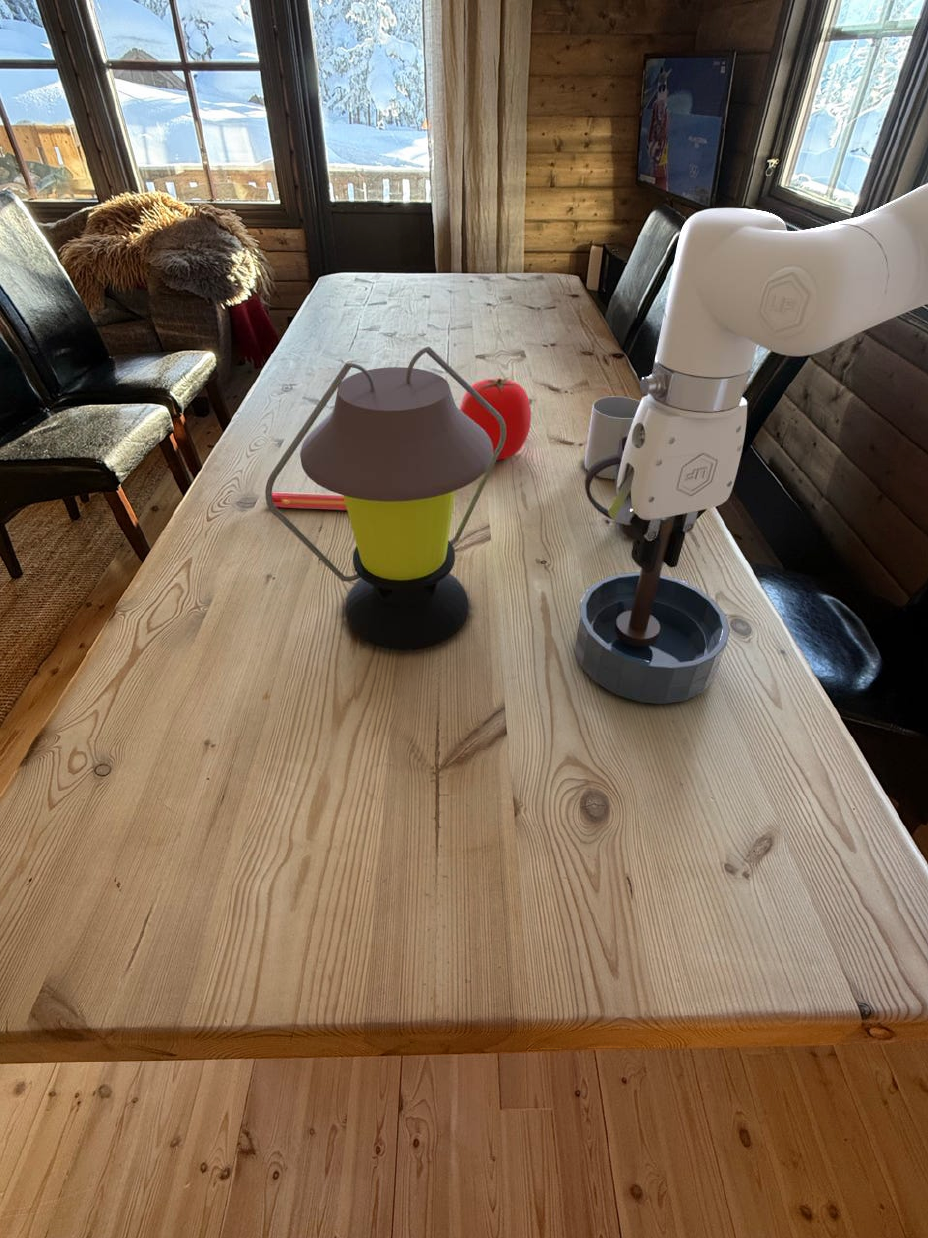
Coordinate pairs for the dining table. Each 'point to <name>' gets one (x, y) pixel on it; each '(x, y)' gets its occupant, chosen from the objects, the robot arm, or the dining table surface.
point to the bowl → (663, 667)
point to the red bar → (309, 501)
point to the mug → (608, 462)
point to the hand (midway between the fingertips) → (653, 561)
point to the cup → (608, 429)
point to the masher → (645, 599)
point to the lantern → (397, 495)
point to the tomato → (508, 404)
